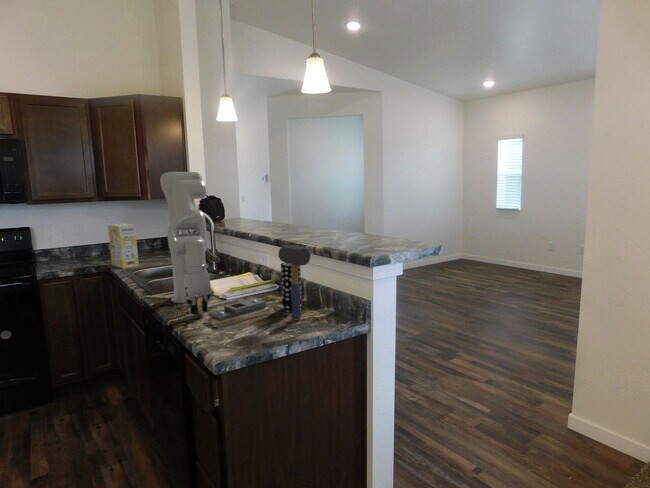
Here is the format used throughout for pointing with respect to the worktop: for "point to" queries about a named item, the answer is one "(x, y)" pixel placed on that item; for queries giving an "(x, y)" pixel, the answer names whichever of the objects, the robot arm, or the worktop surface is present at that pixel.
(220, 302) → the adjustable wrench
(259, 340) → the worktop surface
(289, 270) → the spotted tube
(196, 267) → the robot arm
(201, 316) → the brass pin
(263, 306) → the pegged base plate
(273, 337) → the worktop surface
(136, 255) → the pasta box
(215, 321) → the oak jig
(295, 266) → the rubber mallet
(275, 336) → the worktop surface
